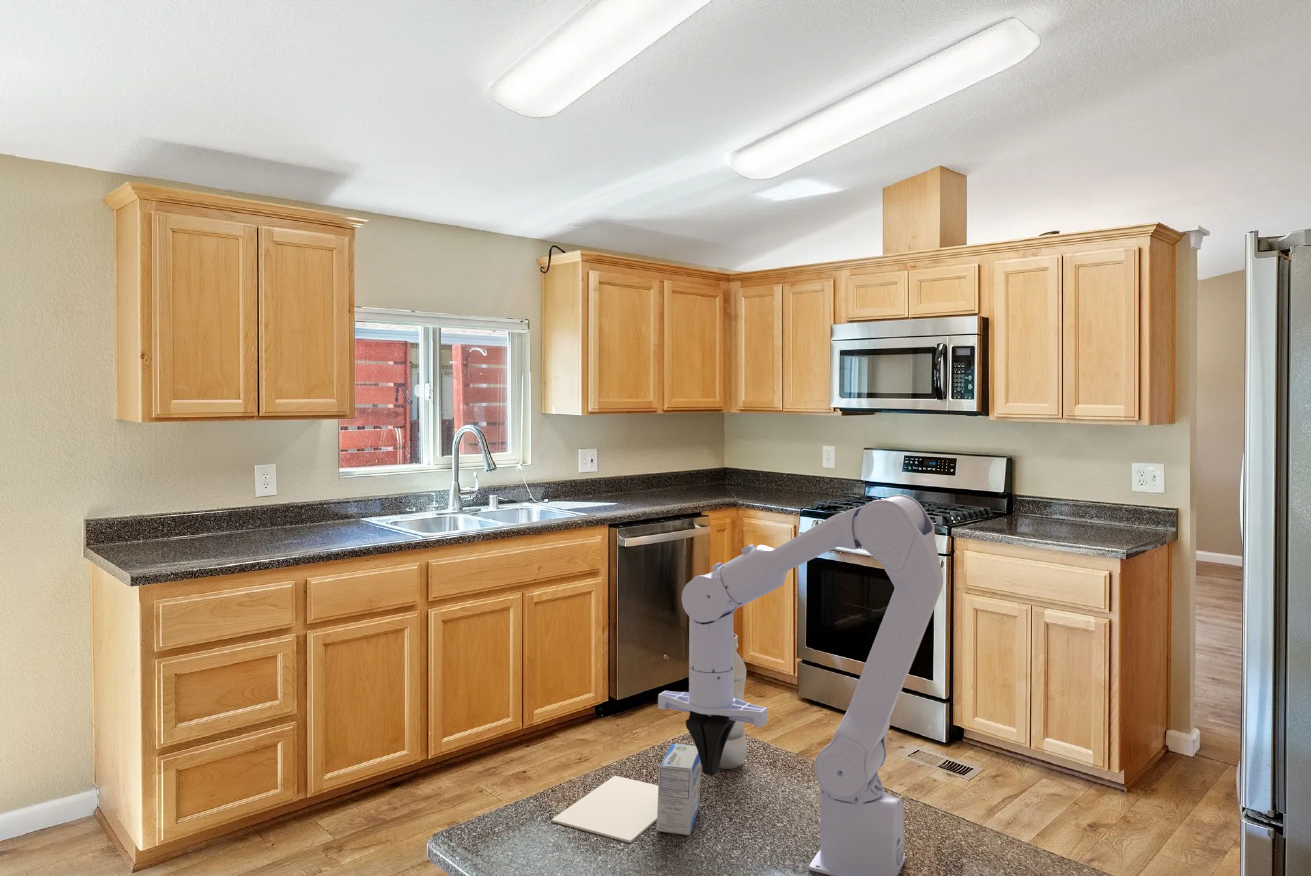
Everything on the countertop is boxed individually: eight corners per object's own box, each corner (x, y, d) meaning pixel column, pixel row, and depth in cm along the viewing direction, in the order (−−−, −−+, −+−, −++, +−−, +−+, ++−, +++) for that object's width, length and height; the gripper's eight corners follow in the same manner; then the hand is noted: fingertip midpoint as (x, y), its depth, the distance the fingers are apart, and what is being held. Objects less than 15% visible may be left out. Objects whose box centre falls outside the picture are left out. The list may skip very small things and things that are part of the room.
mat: (687, 794, 120) (687, 792, 120) (630, 842, 106) (630, 840, 106) (614, 777, 125) (614, 775, 125) (551, 821, 111) (551, 819, 111)
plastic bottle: (754, 762, 131) (754, 633, 131) (734, 777, 125) (734, 643, 125) (717, 754, 134) (717, 628, 134) (696, 768, 129) (696, 637, 129)
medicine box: (690, 837, 107) (693, 769, 107) (655, 832, 108) (658, 765, 108) (699, 808, 115) (702, 745, 114) (667, 804, 116) (670, 741, 115)
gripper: (775, 666, 109) (775, 771, 109) (675, 652, 116) (675, 751, 116) (755, 681, 103) (754, 792, 103) (650, 664, 110) (650, 769, 110)
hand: (711, 772), depth 109 cm, fingers closed
